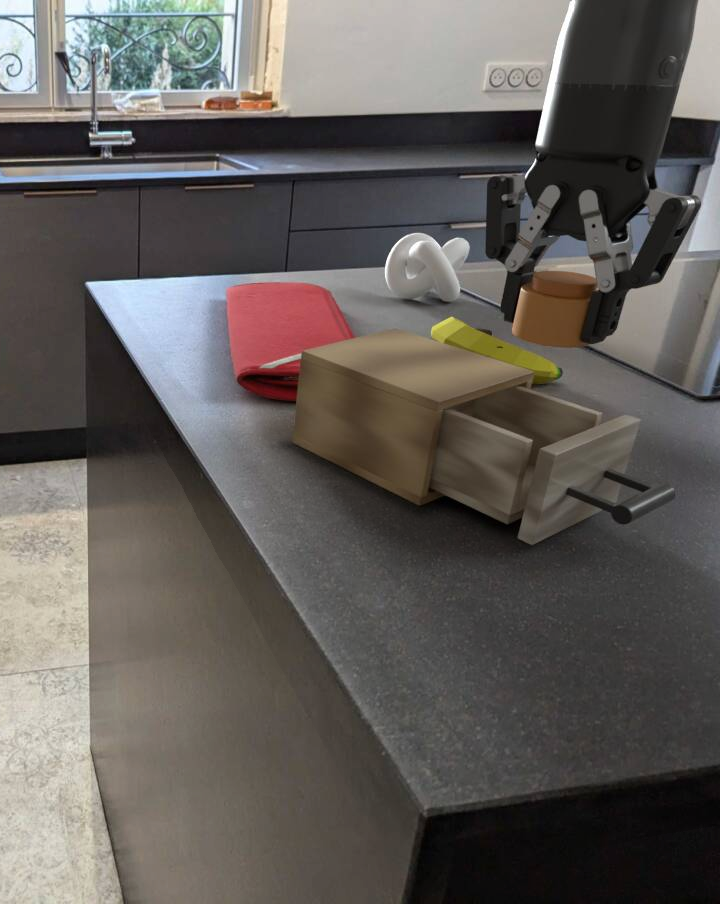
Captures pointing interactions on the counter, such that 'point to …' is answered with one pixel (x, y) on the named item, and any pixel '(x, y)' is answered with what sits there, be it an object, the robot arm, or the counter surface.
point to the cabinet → (390, 404)
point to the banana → (494, 348)
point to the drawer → (539, 462)
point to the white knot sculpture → (425, 266)
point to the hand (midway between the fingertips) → (552, 329)
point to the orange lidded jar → (554, 308)
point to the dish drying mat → (279, 333)
